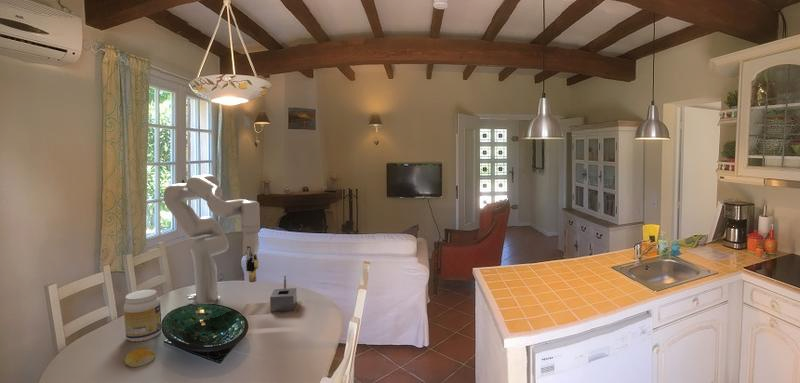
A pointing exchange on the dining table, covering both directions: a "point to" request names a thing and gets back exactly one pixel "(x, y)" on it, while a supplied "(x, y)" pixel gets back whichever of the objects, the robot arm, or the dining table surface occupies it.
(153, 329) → the supplement tub
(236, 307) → the dining table surface
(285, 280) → the tow hook
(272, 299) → the hitch block
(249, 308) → the mount plate
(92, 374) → the dining table surface
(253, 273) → the brass pin
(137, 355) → the bread roll
